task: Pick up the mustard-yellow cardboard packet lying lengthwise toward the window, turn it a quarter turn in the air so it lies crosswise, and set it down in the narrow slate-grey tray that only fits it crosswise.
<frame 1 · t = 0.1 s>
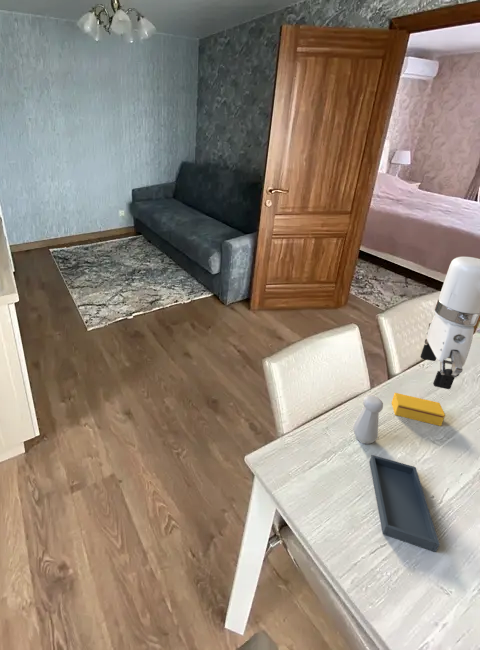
hand: (434, 372, 83), 21 cm above the table, tool pointing down, fingers open, 9 cm apart
tray: (398, 501, 75), on the table
packet: (415, 414, 97), on the table
salt shaker: (363, 437, 90), on the table
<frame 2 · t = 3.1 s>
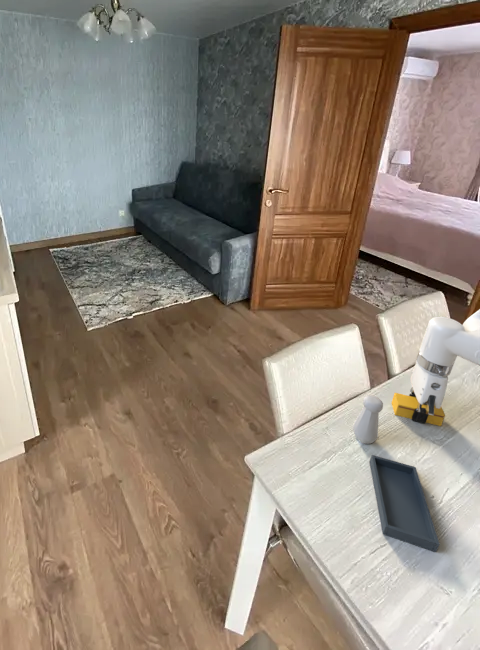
hand: (415, 413, 97), 0 cm above the table, tool pointing down, fingers closed on packet, 4 cm apart
packet: (415, 414, 97), on the table, touching gripper
everything else where it was.
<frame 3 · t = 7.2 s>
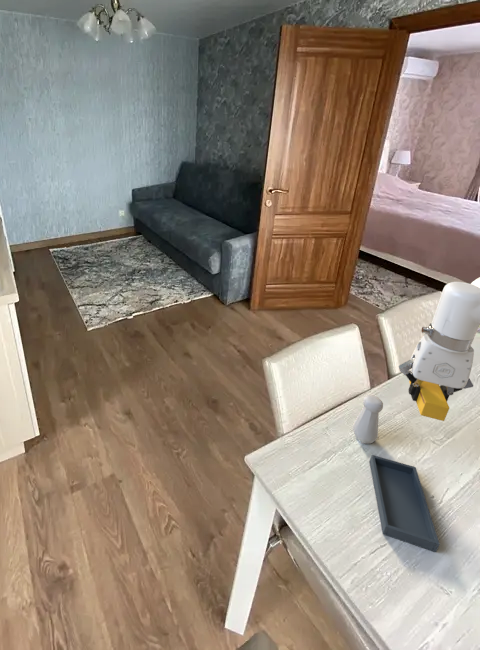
hand: (425, 399, 82), 16 cm above the table, tool pointing down, fingers closed on packet, 4 cm apart
packet: (425, 400, 82), point 15 cm above the table, touching gripper
everything else where it was.
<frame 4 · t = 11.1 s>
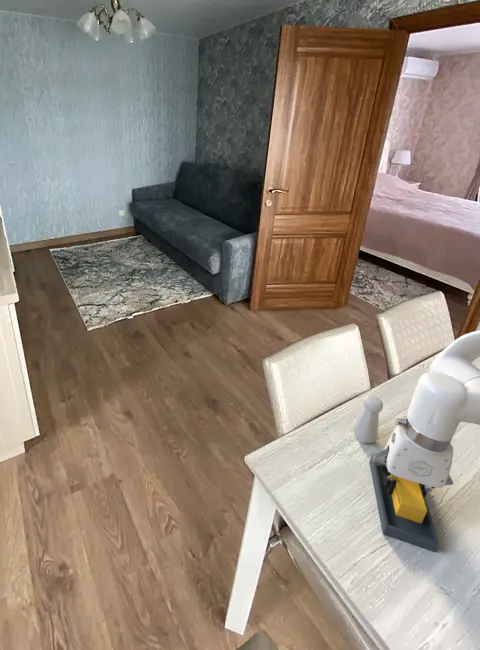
hand: (402, 491, 74), 3 cm above the table, tool pointing down, fingers closed on packet, 4 cm apart
packet: (401, 492, 74), point 3 cm above the table, touching gripper
everything else where it was.
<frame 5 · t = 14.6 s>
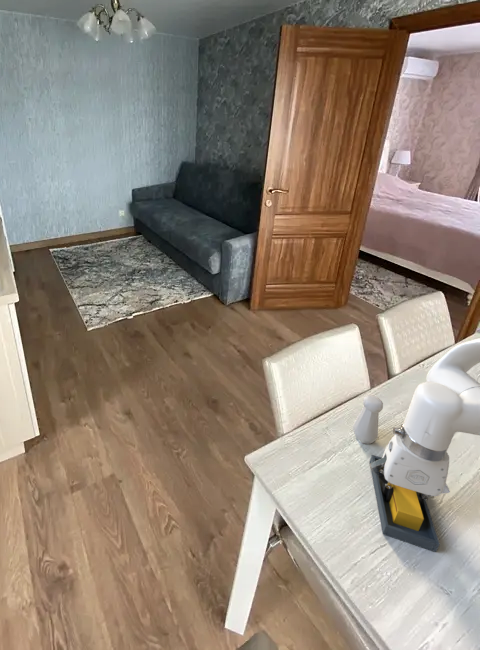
hand: (399, 499, 75), 1 cm above the table, tool pointing down, fingers closed on packet, 4 cm apart
packet: (399, 500, 75), point 1 cm above the table, touching gripper
everything else where it was.
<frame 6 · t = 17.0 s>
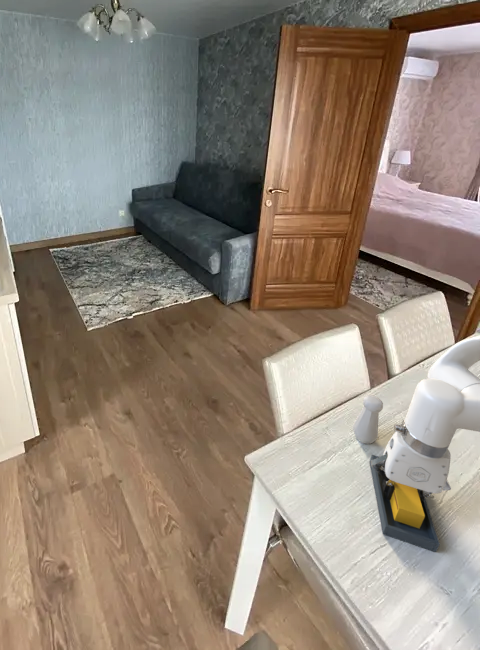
hand: (400, 496, 75), 2 cm above the table, tool pointing down, fingers closed on packet, 4 cm apart
packet: (400, 497, 75), point 1 cm above the table, touching gripper
everything else where it was.
when the fingers open (2 cm above the table, at t = 19.2 s): packet drops 1 cm, resting on tray.
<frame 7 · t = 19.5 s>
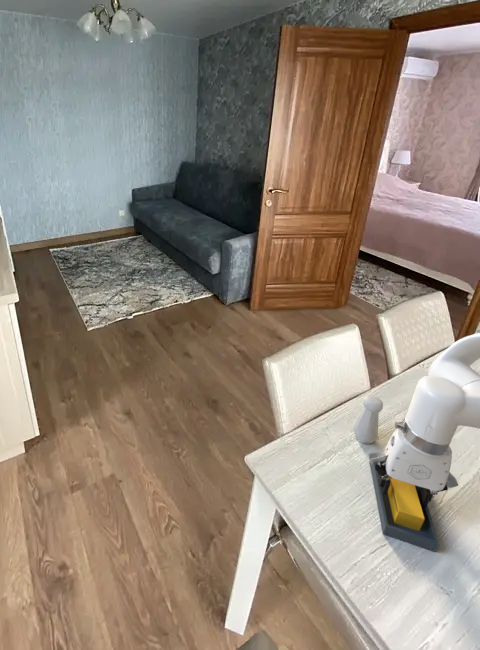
hand: (402, 493, 74), 3 cm above the table, tool pointing down, fingers open, 6 cm apart
packet: (399, 500, 75), resting on tray
everything else where it was.
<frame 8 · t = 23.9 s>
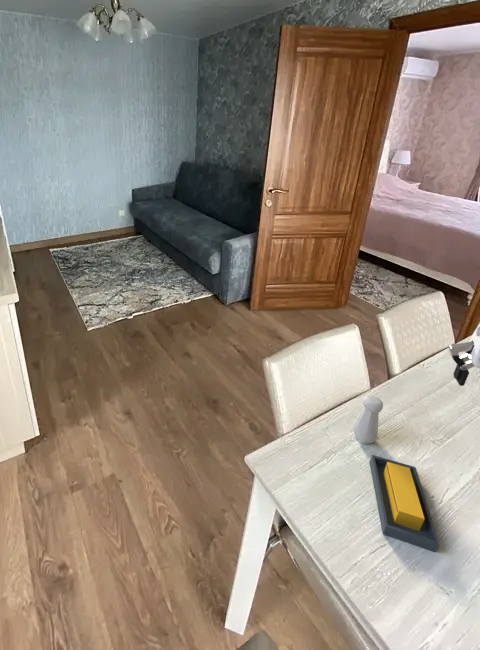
nothing on the table moved.
at the end: packet 0.1 cm off-centre in the tray, point 0.5 cm above the tray's base; packet tilted 0° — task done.
